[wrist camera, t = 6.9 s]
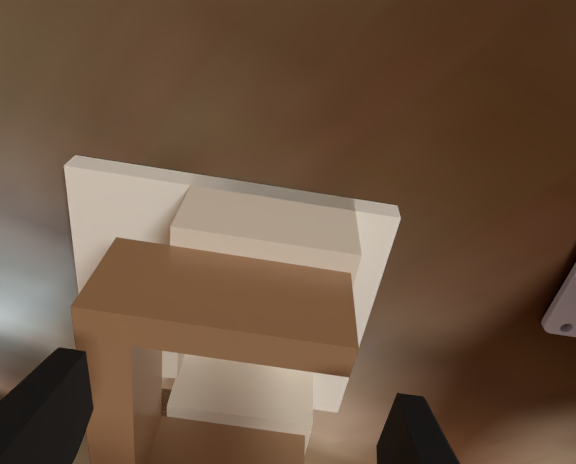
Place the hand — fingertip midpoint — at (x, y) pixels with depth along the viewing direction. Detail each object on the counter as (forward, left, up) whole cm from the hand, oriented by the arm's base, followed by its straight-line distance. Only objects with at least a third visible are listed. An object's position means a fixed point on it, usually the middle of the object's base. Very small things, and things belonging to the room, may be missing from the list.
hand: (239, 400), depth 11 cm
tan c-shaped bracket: (+1, +5, -6) cm, 8 cm away
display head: (+1, +5, -10) cm, 11 cm away
